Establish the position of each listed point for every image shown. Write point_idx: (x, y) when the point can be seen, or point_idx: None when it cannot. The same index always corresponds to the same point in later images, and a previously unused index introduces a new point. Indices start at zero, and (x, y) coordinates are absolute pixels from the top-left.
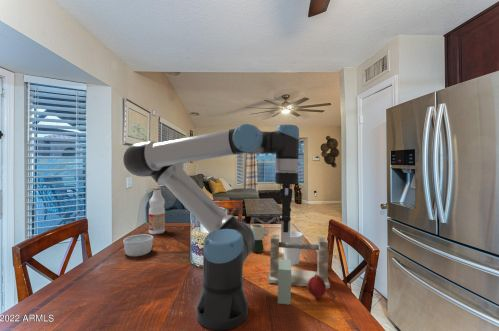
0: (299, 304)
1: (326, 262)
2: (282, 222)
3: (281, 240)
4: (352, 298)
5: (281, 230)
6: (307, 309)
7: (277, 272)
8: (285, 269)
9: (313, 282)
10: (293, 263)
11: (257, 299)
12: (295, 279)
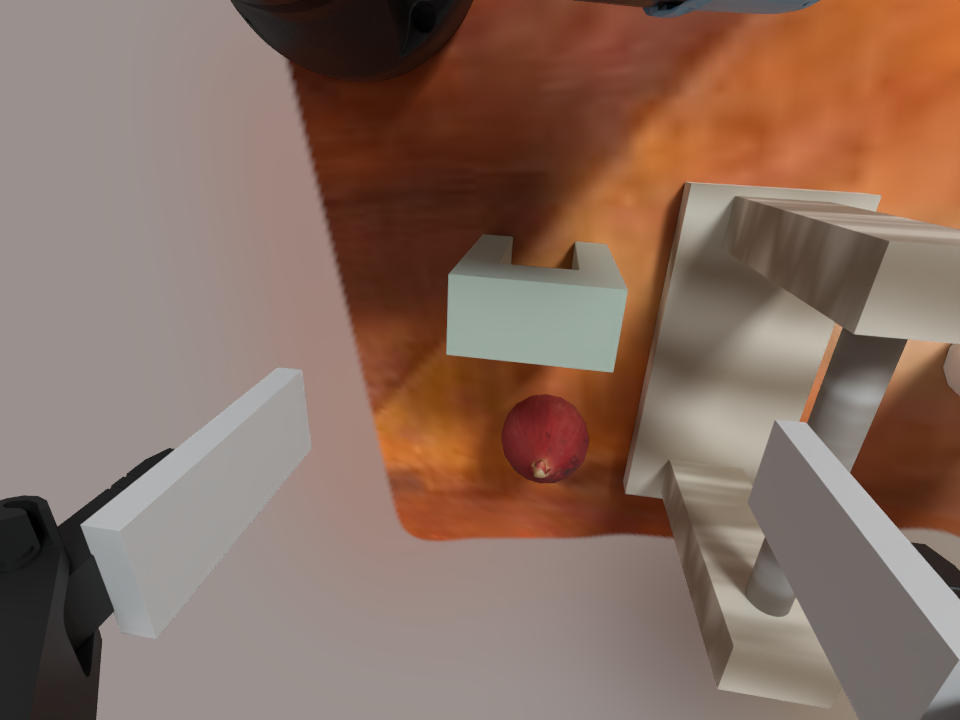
0: None
1: (682, 561)
2: (106, 521)
3: (271, 380)
4: (554, 536)
5: (195, 437)
6: (456, 358)
7: (731, 250)
8: (450, 320)
9: (519, 436)
10: (951, 366)
11: (504, 122)
12: (685, 348)
